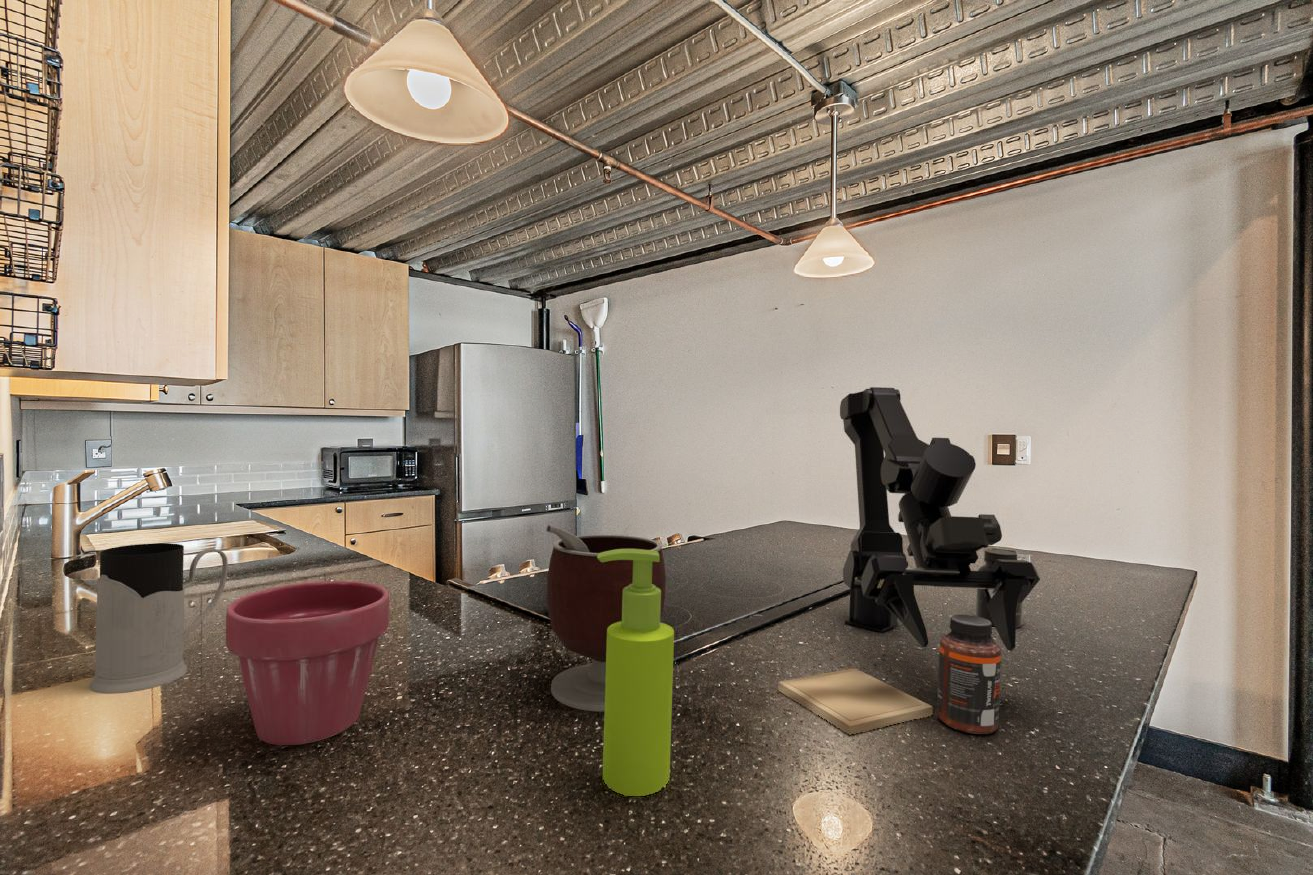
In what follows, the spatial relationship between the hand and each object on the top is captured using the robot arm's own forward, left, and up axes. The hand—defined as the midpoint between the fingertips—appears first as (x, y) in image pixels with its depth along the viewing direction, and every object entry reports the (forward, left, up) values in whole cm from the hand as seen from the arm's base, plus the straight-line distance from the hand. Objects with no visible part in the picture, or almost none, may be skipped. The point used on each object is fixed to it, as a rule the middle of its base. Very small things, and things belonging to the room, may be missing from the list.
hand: (968, 647), depth 67 cm
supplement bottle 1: (0, 0, -8) cm, 8 cm away
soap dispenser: (-17, -34, -8) cm, 39 cm away
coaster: (-11, -5, -8) cm, 14 cm away
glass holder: (-72, -59, -8) cm, 93 cm away
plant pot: (-46, -51, -8) cm, 69 cm away
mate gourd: (-33, -24, -8) cm, 42 cm away
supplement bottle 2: (-9, +44, -8) cm, 45 cm away
